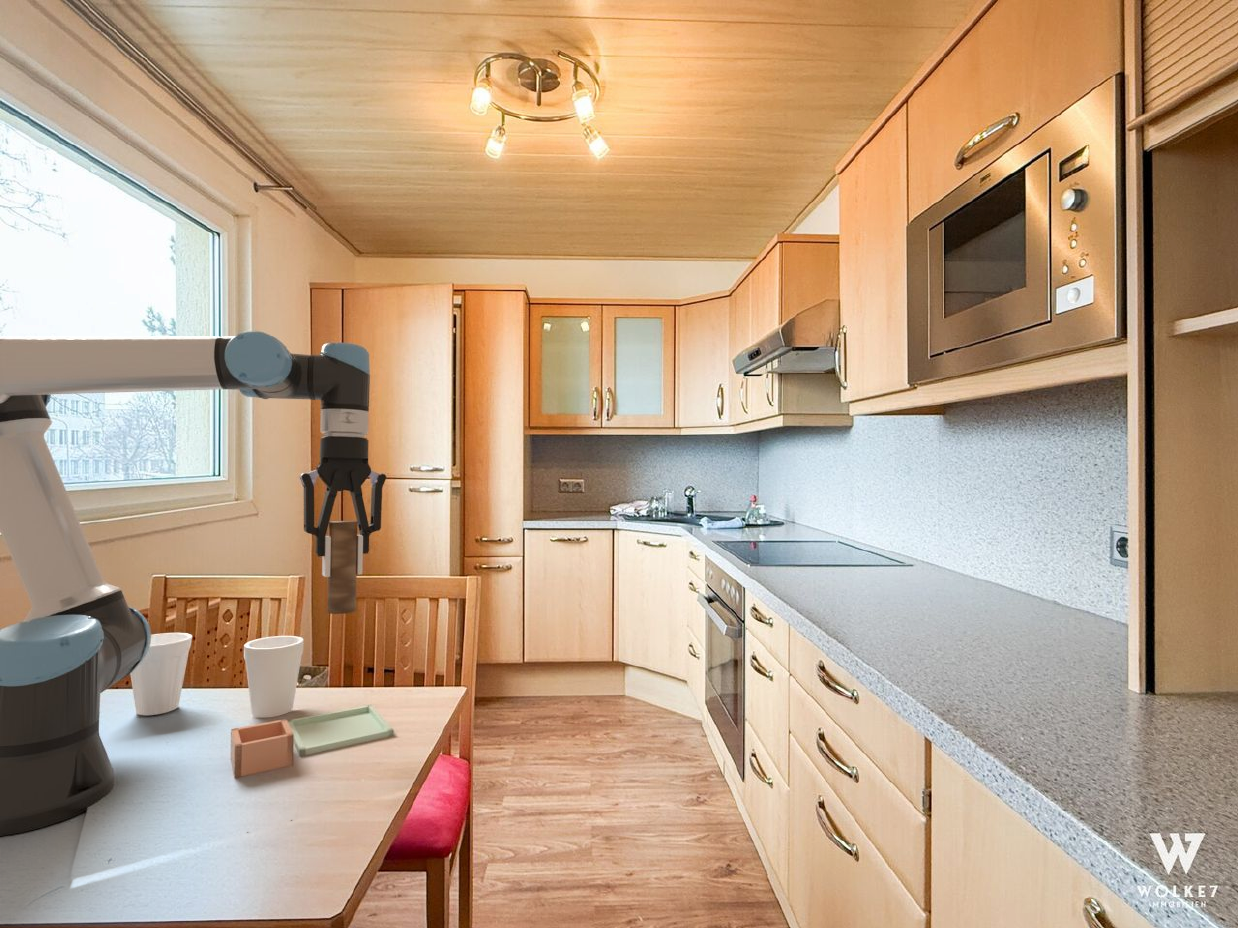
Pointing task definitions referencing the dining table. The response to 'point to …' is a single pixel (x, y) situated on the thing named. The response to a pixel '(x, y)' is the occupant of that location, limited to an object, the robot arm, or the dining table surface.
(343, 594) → the dowel
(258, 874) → the dining table surface
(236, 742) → the orange open box
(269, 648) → the foam cup
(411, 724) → the dining table surface
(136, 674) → the cup
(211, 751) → the dining table surface
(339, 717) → the tray
